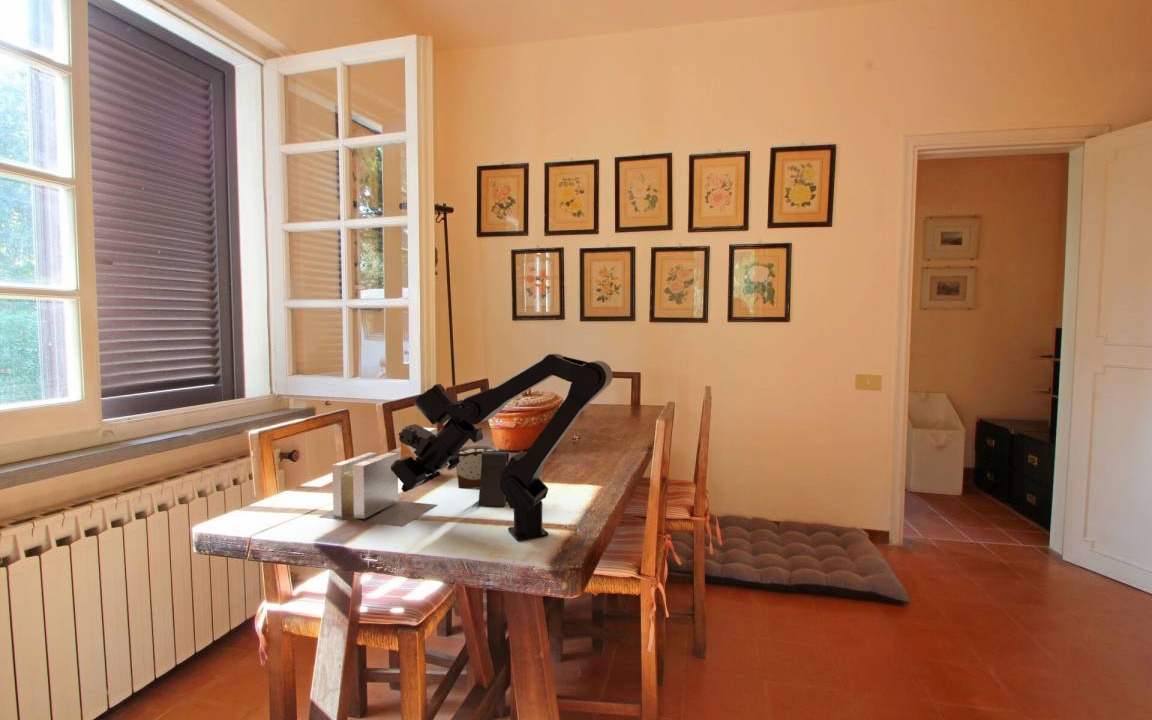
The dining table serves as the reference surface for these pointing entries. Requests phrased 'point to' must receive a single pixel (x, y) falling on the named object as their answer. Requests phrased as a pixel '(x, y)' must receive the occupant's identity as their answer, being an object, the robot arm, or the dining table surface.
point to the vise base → (390, 515)
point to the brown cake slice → (471, 465)
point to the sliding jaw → (374, 485)
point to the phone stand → (492, 478)
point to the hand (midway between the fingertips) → (403, 490)
